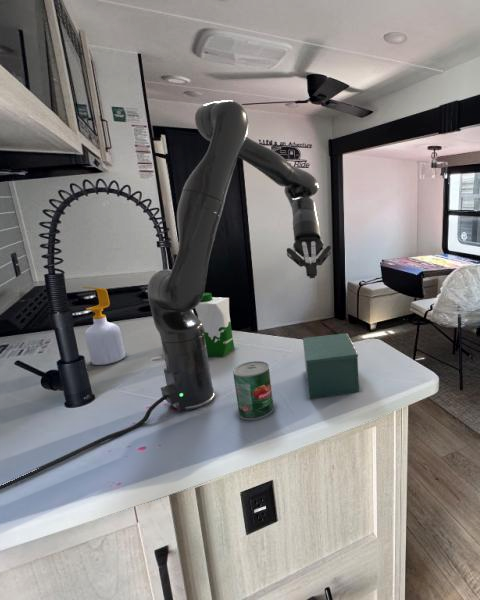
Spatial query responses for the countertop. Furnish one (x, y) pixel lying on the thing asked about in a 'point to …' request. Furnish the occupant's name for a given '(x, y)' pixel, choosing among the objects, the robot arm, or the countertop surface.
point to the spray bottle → (103, 334)
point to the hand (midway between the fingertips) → (312, 276)
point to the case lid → (328, 348)
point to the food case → (332, 377)
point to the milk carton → (216, 324)
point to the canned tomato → (253, 390)
